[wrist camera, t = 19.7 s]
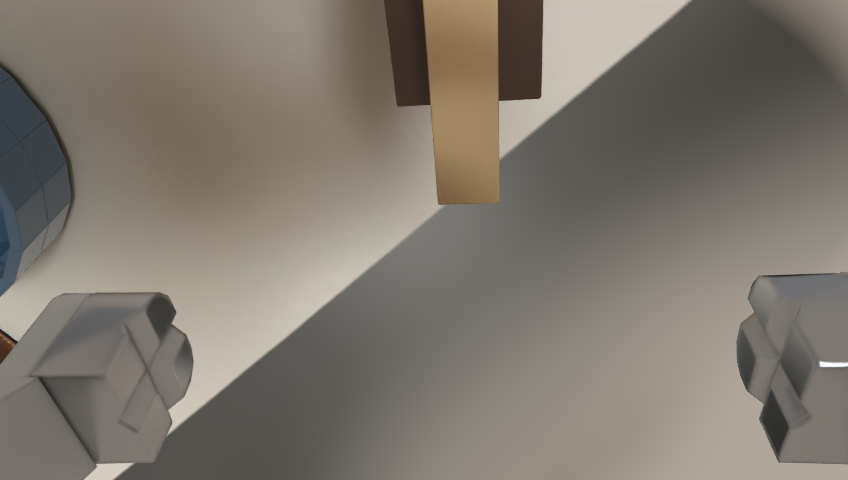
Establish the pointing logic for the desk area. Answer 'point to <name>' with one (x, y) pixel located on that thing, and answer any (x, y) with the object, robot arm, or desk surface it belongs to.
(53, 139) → the bowl
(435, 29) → the tan wooden bar
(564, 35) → the desk surface
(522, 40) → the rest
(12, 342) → the sunglasses case
